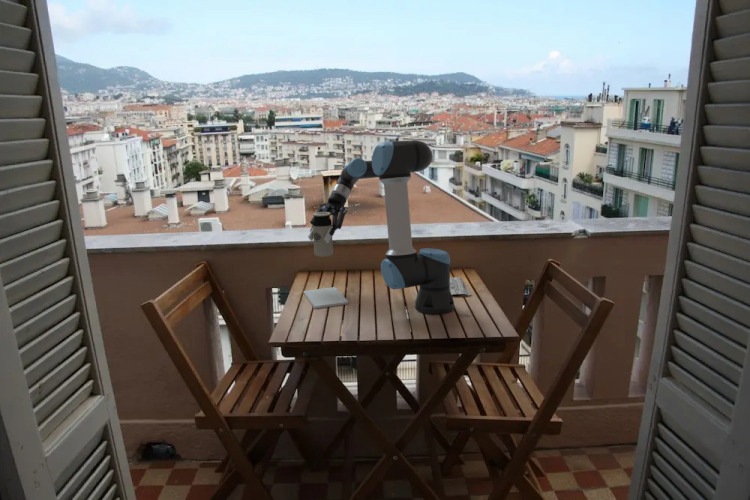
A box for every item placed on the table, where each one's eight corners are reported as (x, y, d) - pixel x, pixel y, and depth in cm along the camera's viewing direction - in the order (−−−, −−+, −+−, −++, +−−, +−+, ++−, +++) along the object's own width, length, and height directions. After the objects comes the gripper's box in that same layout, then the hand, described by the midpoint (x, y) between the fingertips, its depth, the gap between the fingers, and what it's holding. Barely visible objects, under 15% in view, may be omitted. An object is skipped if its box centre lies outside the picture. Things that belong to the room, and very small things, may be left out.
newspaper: (472, 298, 228) (471, 292, 227) (442, 301, 229) (441, 295, 228) (465, 280, 250) (465, 275, 249) (438, 283, 250) (438, 278, 250)
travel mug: (326, 251, 244) (324, 211, 239) (336, 254, 238) (334, 213, 233) (311, 254, 239) (308, 213, 234) (321, 258, 233) (318, 216, 228)
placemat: (348, 304, 222) (348, 301, 222) (314, 308, 218) (314, 306, 218) (335, 289, 241) (335, 287, 240) (303, 293, 236) (303, 291, 236)
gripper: (362, 203, 240) (341, 247, 231) (324, 200, 251) (303, 242, 242) (354, 193, 234) (333, 237, 225) (316, 190, 246) (294, 232, 237)
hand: (317, 240), depth 234 cm, fingers closed on travel mug, 8 cm apart
